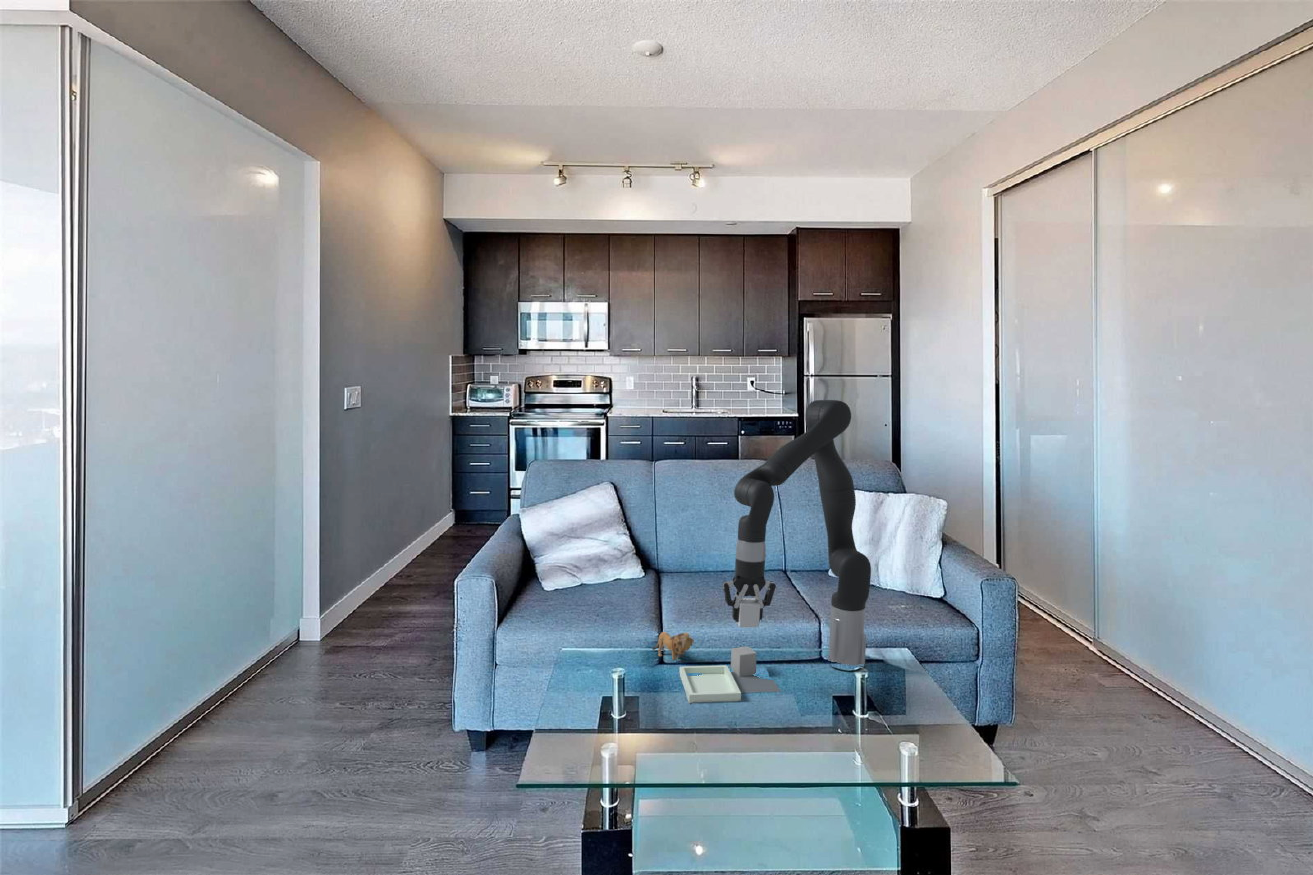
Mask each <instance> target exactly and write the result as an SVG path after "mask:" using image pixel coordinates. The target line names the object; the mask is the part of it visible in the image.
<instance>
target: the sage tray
mask: <svg viewBox="0 0 1313 875" xmlns="http://www.w3.org/2000/svg"><path fill="white" fill-rule="evenodd" d="M728 667H729V666H728V665H724V664H723V665H689V666H688V665H687V666H685V665H684V666H683V665H682V666H679V673H680V674H679V677H680V679H681V683H682V685H683V688H684V689H683V690H684V692H685V696H686V699H687V701H688V705H692V704H693V703H718V702H719V703H720V702H721V703H722V702H723V703H726V702H741V701H742V693H741V692H740V690H739V688H738V686H737V684H736V682H735V680H734V678H733V676H732V674H731V672H730V670H729V668H728ZM687 673H702V675H699V676H698V675H697V676H687V675H686V674H687Z"/></svg>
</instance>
